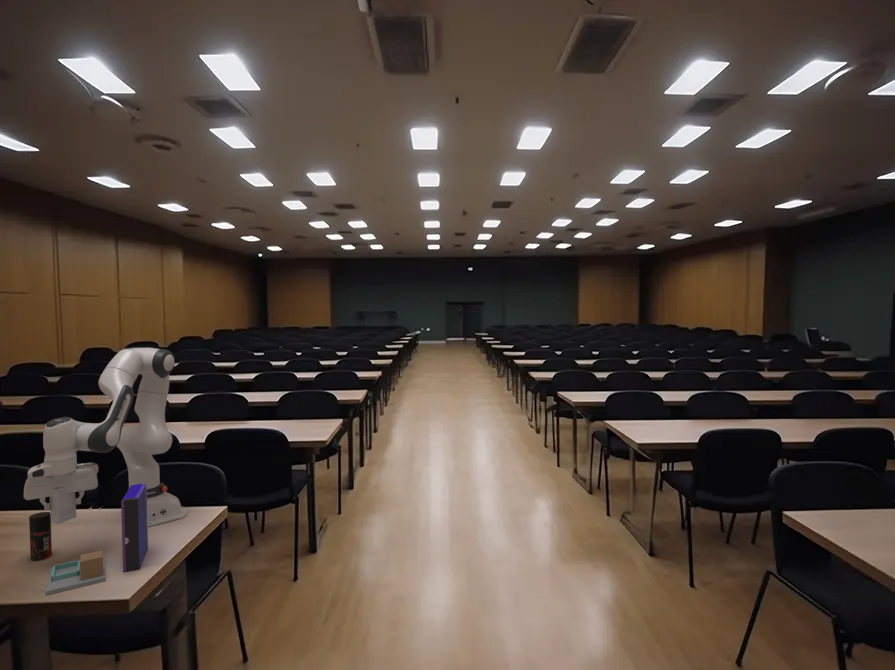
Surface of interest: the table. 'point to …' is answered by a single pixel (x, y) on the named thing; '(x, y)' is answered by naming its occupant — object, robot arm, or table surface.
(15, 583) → the table surface
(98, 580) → the grey board with block
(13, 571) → the table surface
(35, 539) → the deodorant
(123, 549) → the cereal box
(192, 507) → the table surface
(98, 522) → the table surface
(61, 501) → the skincare box
